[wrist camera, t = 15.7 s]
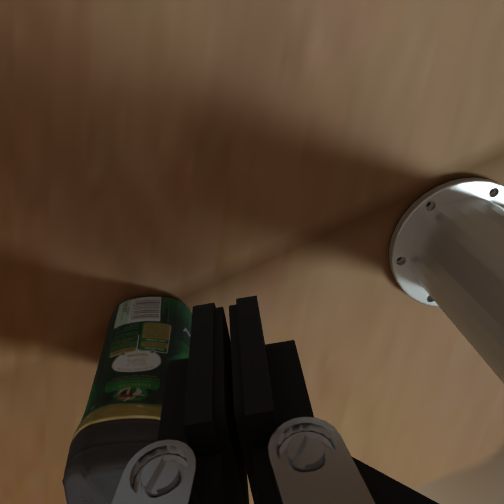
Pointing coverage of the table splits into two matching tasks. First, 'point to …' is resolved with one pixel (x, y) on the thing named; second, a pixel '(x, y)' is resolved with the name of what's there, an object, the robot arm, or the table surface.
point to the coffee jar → (125, 395)
